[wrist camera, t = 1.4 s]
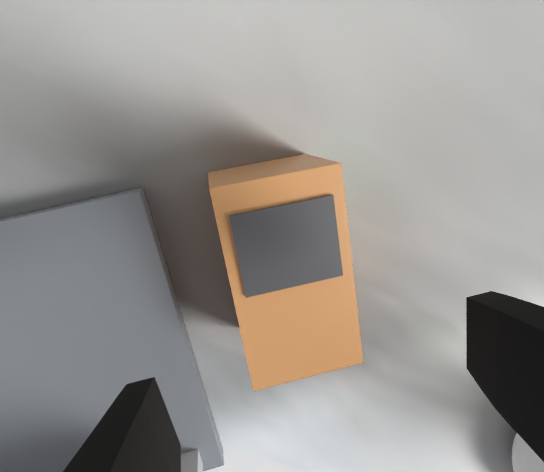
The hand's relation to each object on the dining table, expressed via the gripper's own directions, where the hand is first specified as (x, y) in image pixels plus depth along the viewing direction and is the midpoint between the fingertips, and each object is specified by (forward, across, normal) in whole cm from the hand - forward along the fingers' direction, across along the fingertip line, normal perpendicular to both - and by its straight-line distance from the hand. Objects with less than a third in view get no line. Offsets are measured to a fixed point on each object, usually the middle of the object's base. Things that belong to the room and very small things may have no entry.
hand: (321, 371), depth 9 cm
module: (+10, 0, +1) cm, 10 cm away
